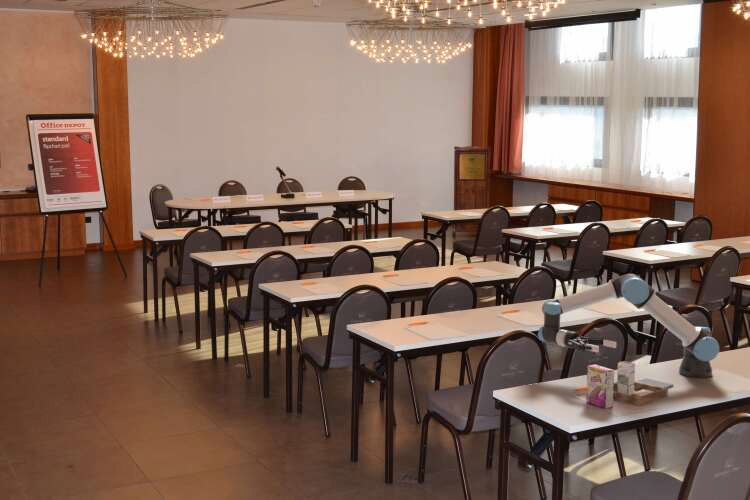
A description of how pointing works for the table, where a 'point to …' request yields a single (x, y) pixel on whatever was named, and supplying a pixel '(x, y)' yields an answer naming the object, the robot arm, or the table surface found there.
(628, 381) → the syrup box
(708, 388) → the table surface
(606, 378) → the candy bar box
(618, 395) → the walnut frame
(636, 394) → the top offcut
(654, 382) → the grey mat
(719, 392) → the table surface
